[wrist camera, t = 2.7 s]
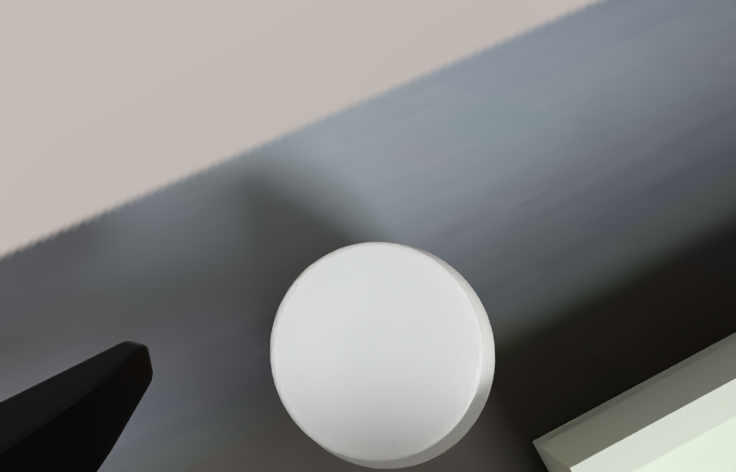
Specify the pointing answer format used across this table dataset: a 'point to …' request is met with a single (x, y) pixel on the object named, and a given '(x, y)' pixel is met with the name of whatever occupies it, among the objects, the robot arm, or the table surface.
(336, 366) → the supplement bottle
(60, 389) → the robot arm
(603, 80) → the table surface
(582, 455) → the tote
